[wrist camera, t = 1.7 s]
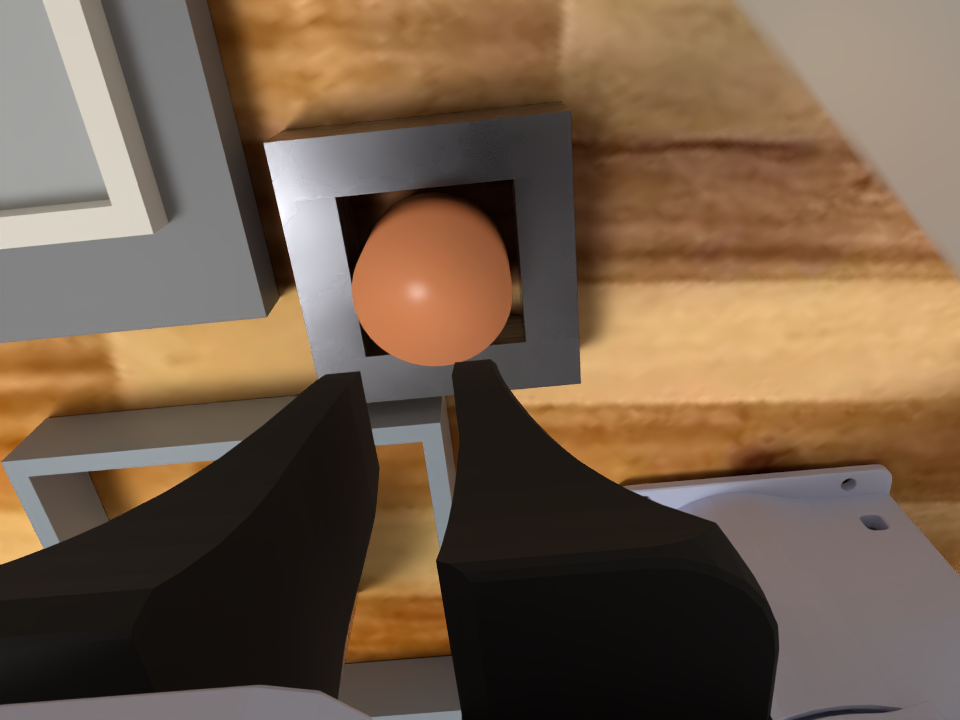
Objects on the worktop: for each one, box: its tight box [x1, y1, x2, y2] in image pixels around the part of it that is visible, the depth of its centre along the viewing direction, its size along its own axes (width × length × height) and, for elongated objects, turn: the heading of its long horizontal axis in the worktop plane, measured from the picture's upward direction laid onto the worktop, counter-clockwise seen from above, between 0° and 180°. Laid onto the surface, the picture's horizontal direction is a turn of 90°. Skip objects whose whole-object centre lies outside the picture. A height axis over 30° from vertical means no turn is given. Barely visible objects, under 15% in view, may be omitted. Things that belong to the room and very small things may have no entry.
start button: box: [352, 192, 513, 366], centre depth 18 cm, size 4×4×2 cm
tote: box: [1, 395, 462, 720], centre depth 25 cm, size 13×13×2 cm
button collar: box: [264, 101, 581, 403], centre depth 20 cm, size 8×8×2 cm
